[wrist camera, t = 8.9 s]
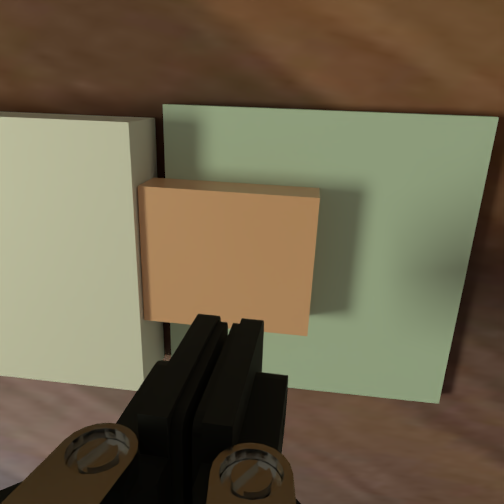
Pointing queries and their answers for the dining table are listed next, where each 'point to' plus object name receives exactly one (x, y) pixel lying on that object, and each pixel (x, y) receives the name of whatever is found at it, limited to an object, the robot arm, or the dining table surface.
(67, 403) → the dining table surface
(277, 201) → the tile
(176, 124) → the mat
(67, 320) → the plate
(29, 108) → the dining table surface
